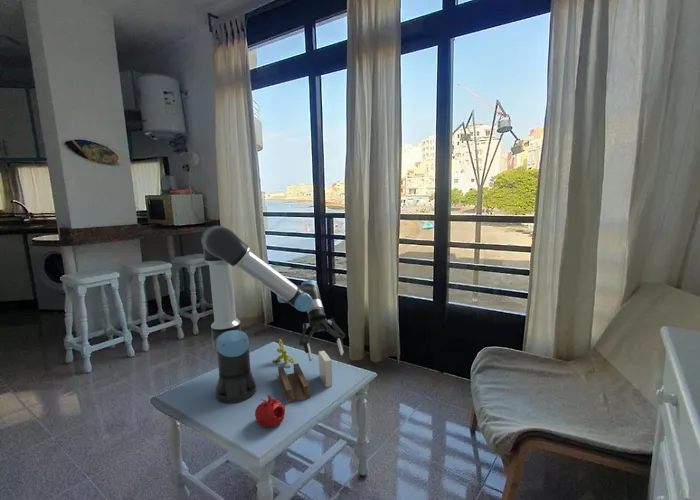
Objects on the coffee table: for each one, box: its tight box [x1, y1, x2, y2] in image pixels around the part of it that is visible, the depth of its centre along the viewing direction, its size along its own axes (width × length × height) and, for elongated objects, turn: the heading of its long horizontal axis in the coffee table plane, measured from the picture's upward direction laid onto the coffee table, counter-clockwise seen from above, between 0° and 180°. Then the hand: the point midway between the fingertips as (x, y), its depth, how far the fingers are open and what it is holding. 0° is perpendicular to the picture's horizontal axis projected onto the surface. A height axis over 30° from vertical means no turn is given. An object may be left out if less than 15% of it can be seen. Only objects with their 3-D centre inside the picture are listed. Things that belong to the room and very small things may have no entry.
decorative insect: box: [272, 338, 295, 364], centre depth 162 cm, size 13×3×10 cm
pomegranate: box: [254, 394, 286, 428], centre depth 117 cm, size 10×10×9 cm
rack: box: [277, 362, 311, 404], centre depth 139 cm, size 9×20×5 cm, turn 20°
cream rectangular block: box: [318, 350, 333, 388], centre depth 143 cm, size 2×10×11 cm, turn 21°
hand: (326, 357), depth 145 cm, fingers open, 13 cm apart
